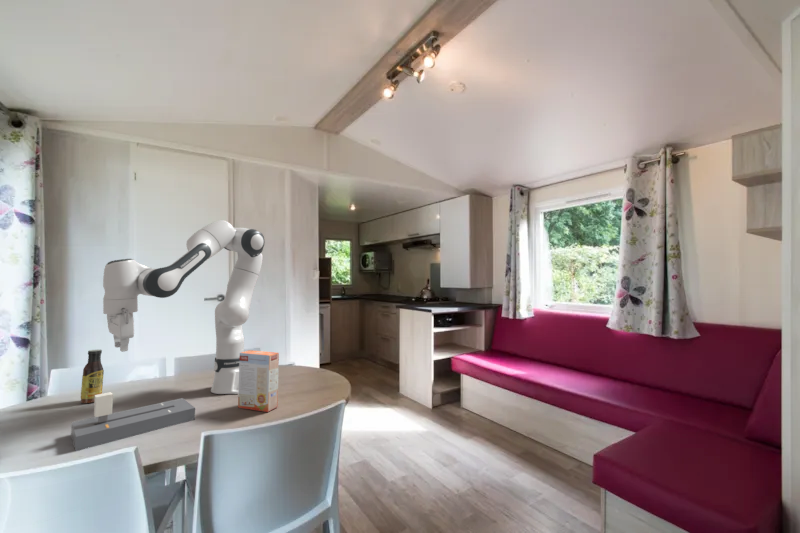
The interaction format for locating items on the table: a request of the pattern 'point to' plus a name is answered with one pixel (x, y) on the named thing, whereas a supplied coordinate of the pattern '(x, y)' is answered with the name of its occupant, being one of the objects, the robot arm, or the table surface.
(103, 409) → the fader knob
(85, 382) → the sauce bottle
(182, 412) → the console
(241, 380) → the cracker box
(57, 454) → the table surface
